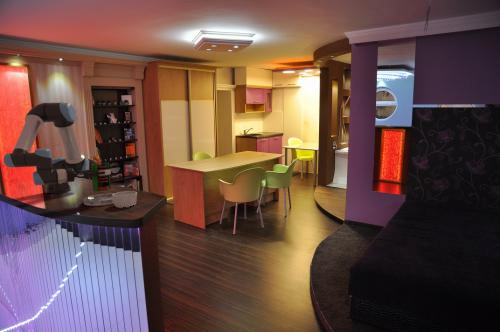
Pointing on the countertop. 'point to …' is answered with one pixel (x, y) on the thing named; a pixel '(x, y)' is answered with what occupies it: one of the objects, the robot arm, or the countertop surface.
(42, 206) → the countertop surface
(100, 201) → the tray
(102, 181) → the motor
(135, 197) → the ramekin
